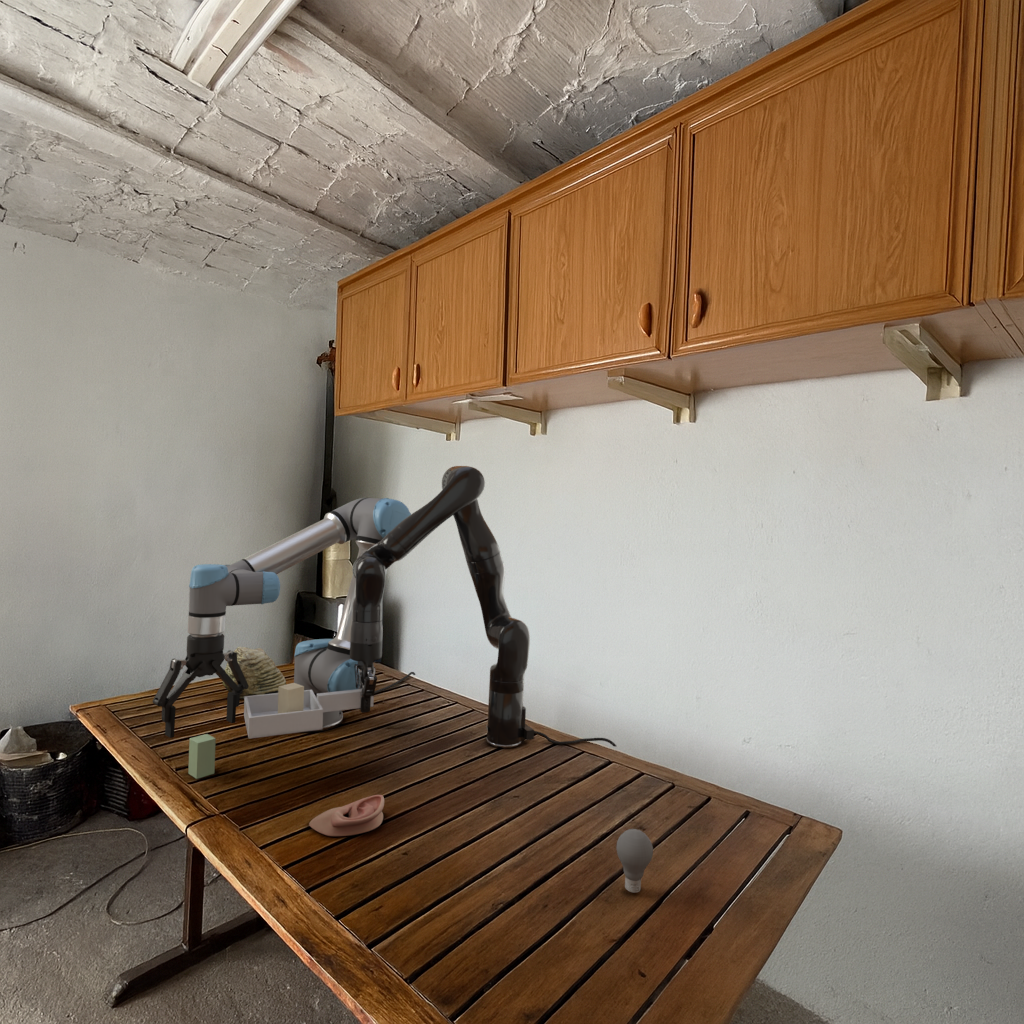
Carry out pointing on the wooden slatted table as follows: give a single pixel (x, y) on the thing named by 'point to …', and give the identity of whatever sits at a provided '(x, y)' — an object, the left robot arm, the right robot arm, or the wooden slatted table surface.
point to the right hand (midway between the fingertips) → (364, 710)
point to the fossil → (257, 672)
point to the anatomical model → (351, 817)
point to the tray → (269, 723)
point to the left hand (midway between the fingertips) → (201, 728)
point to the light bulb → (634, 857)
